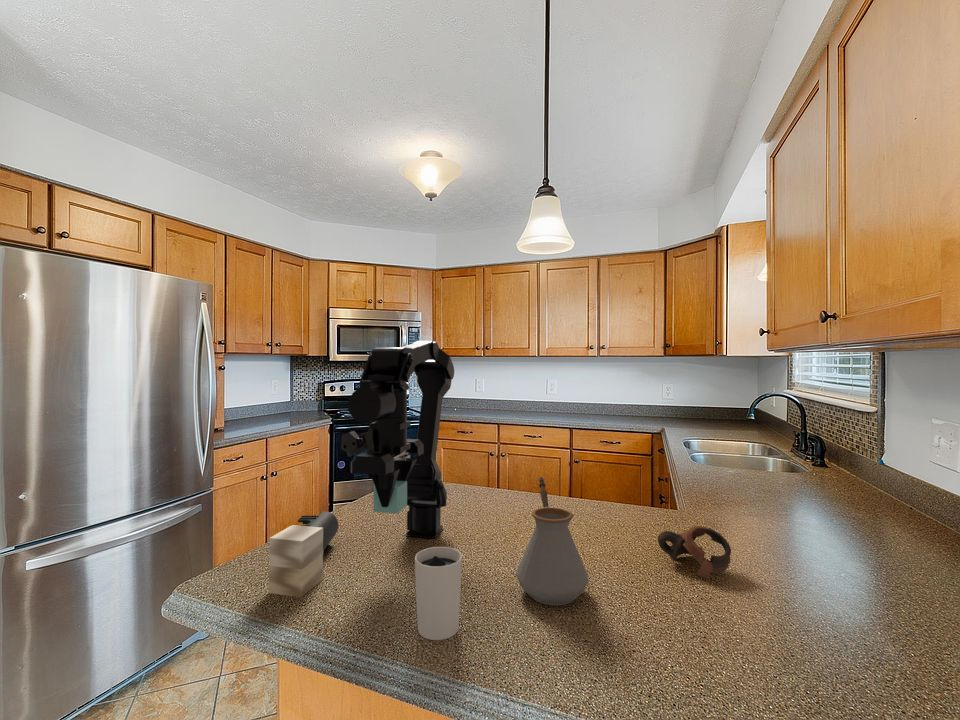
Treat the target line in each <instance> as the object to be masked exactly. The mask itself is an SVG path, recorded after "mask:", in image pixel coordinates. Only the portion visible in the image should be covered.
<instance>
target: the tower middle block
mask: <svg viewBox="0 0 960 720" xmlns="http://www.w3.org/2000/svg"><path fill="white" fill-rule="evenodd" d="M268 543H269V544H268V546H269V548H268V549H269V550H268V551H269V553H268V554H269V555H268V556H269V557H268V560H269V561H268V563H269V564H268V567H269V566H276V567H285V568H294V569H303V568H305V567H306V566H307V565H309V564H310V563H311V562H313V561H314V560H315V559H317V558H318V557H320V556H321V555H322V554H323V555H324V551H323V528H322V527H311V526H299V524H298V525H297V524H296V525H295V524H292V525H290V526H288V527H287V528H285V529H283V530H281V531H279V532H277V533H275V534H274V535H272V536H270V537H269V542H268Z"/></svg>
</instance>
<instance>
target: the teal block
mask: <svg viewBox="0 0 960 720" xmlns="http://www.w3.org/2000/svg"><path fill="white" fill-rule="evenodd" d="M406 507H408V506H407V481H396V483H395V486H394V490H393V493H392V496H391V500H390V502H389V505H388V507H382V506H381V503H380V500H379V497H378V494H377V491H376V488H375V485H373V512H374V513H386V514H398V513H400V512H401V511H402V510H404V509H405V508H406Z"/></svg>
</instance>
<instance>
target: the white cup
mask: <svg viewBox="0 0 960 720" xmlns="http://www.w3.org/2000/svg"><path fill="white" fill-rule="evenodd" d="M462 555H463V554H462V553H461V552H460V550H458V549H456V548H454V547H453V548H452V547H449V546H434V547H433V546H432V547H427V548H425V549H422V550H419V551H418V552H417V553H416V554H415V557H414V571H415V572H414V574H415V575H414V576H415V591H416V592H415V593H416V594H415V596H416V617H417V618H416V619H417V632H418V633H419V635H420V636H421V637H422V638H424V639H427V640H430V641H442V640H446V639H450V638H451V637H454V636H455V635H456V633H458V632H459V628H460V627H459V626H460V608H461V607H460V605H461V583H462V565H463V564H462V561H463V559H462V558H463V556H462Z"/></svg>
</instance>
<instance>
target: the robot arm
mask: <svg viewBox="0 0 960 720" xmlns="http://www.w3.org/2000/svg"><path fill="white" fill-rule="evenodd" d="M412 374H415V376H416V381H417V382H416V383H417V385H418V387H419V389H420V392H421V393H422V395H421V404H420V410H419V411H420V412H419V418H418V427H417V435H416V439H415V438H414V439H413V438H408V435H407V434H408V433H407V432H408V430H407V429H408V428H409V427H411V426H412V425H411V424H412V423H411V421H412V420H408V419H407V418H408V408H407V407H408V400H407V399H408V391H409V390H410V386H409V384H408V381H410V378H411V376H412ZM454 377H455V367H454V363H453V361H452V359H451V356H450V354H448V353H447V352H445V351H444V350H443V349H441V348H440V347H439V344H438V342H437V341H434V340H417V341H414V342H413V343H411V344H407V345H404V346H401V347H398V346H397V347H396V346H393V347H392V346H391V347H389V346H388V347H387V346H386V347H373V348H372V349H371V353H369V355H368V357H367V360H366V363H365V366H364V369H363V371H362V374H361V377H360V379H359V388H357V389H355V390H354V391H353V392H352V394H351V395H350V396H349V400H348V402H347V408H348V412H349V414H350V416H351V417H352V419H354V420H355V422H358V423H361V424H368V423H370V424H369V425H368V431H366V432H363V433H360V434H357V433H358V432H356V431H354V430H353V431H350V432H346V433H344V434H342V437H341V446H340V449H341V450H342V451H343V452H346V453H347V456H348V457H349V458H350V457H353V456H354V455H355V454H356V455H355V456H354V457H353V458H352V459H351V460H350V473H351V474H355V475H356V474H357V475H367V476H368V477H369V478H370V479H372V482H373V484H374V485H373V486H375V488H376V491H377V494H378V497H379V500H380V503H381V506H382V507H388V505H389V502H390V500H391V496H392V493H393V490H394V486H395V483H396V481H407V506H406V507H408V511H407V512H406V530H407V532H406V533H405V535H406V537H411V538H412V537H413V538H415V537H416V538H426V539H435V538H436V537H437V536H438V535H439V534H440V532H441V531H442V530H443V529H444V525H442V523H441V513H442V512H441V508H443V507H446V506H447V499H448V496H447V495H448V491H447V489H446V487H445V485H444V483H443V480H442V471H441V470H440V467H439V465H438V463H437V452H438V451H437V450H438V442H439V441H438V440H439V431H440V424H441V423H440V422H441V416H442V415H441V414H442V405H443V398H444V397H445V395H446V394H447V393H448V392H449V390H450V389H451V386H452V381H453V379H454ZM411 454H414V457H411Z"/></svg>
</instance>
